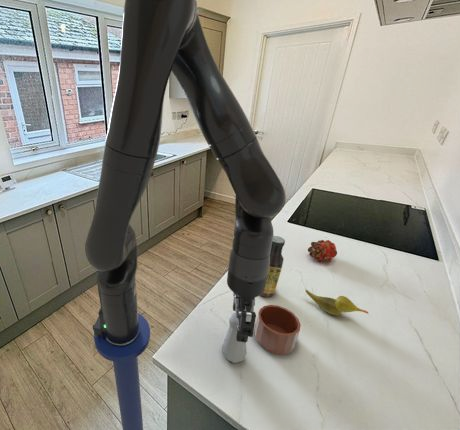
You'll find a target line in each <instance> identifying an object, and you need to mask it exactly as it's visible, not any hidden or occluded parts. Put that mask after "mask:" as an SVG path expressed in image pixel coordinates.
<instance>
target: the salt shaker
mask: <svg viewBox="0 0 460 430" xmlns="http://www.w3.org/2000/svg"><path fill="white" fill-rule="evenodd" d="M239 314H241V312H239ZM228 325H229V328H228V330H227V333H226V334H225V337H224V339H223V342H222V343H221V350H222V353H223V355H224V356H225V359H226V360H227V361H229V362H231V363H232V364H236V363H240V362H242V361H244V360H245V358H246V356H247V354H248V351H247V342H238V341H237V339H236V336H237V329H238V328H237V326H238V318H237V317H236V316H235V312H233V313H231V314H230V316H229V318H228Z"/></svg>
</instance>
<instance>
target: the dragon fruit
mask: <svg viewBox="0 0 460 430" xmlns="http://www.w3.org/2000/svg"><path fill="white" fill-rule="evenodd" d="M307 252H309V253H308V254H309V257H312V258H313V259H314V260H315V261H317V262H322V261H324V262H327V263H330V262H331V261H332V259H333V258H335V257H337V255H338V251H337V246H336V244H335V243H334V242H332V241H330V239H326V240H325V239H319V240H317V241H311V242H310V246H309V247H308V248H307Z"/></svg>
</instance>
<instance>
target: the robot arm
mask: <svg viewBox="0 0 460 430" xmlns="http://www.w3.org/2000/svg"><path fill="white" fill-rule="evenodd" d="M197 3H198V2H197V0H124V6H123V17H122V30H121V31H122V32H121V45H120V55H119V56H120V57H119V67H118V68H119V69H118V75H117V76H118V77H117V82H116V88H115V93H114V97H113V100H112V101H113V102H112V107H111V112H110V117H109V121H108V122H109V123H108V129H107V133H106V138H105V142H104V149H103V155H102V162H101V169H100V175H99V182H98V187H97V193H96V202H95V208H94V212H93V216H92V220H91V224H90V226H89V230H88V233H87V236H86V240H85V243H84V244H85V245H84V252H85V255H86V256H85V257H86V259H87V261H88V263H89V264H90V265H91V266H92V267H93V268H94V270H96V271H97V273H96V285H97V291H98V298H99V305H100V307H99V310H98V312H97V313H98V316H97V319H96V321H95V323H94V324H93V325H92V330H93V336H94V335H98V336H102V338H103V339H106V340H107V342H108V343H110V344H111V345H113V346H116V347H124V346H127V345H130V344H131V343H133V342H134V341H135V340H136V339H137V337H138V335H139V323H138V313H139V312H138V310H139V309H138V297H137V282H136V276H137V275H136V274H137V271H138V241H137V235H136V232H135V229H134V228H133V226H132V225H131V224H130V223H131V220H132V217H133V215H134V213H135V211H136V209H137V207H138V205H139V203H140V201H141V199H142V197H143V195H144V193H145V191H146V189H147V186H148V184H149V181H150V178H151V177H152V173H153V170H154V166H155V162H156V159H157V156H158V151H159V147H160V141H161V133H162V126H163V112H164V101H165V95H166V90H167V86H168V82H169V79H170V76H171V72H172V74H173V76H174V77H175V79H176V81H177V83H178V84H179V85H180V87H181V90H182V92H183V93H184V96H185V98H186V99H187V101H188V105H189V106H190V109H191V111H192V113H193V116H194V119H195V121H196V123H197V125H198V128H199V129H200V131H201V134H202V136H203V137H204V140H205V142H206V143H207V145H208V147H209V149H210V151H211V152H212V154H213V156H214V158H215V160H216V161H217V162H218V164H219V165H220V167H221V168H222V170H223V171H224V172H225V175H226V176H227V179H228V181H229V184H230V185H231V187H232V188H231V189H232V190H233V192H234V194H235V198H234V199H235V205H234V207H235V208H234V209H235V210H234V211H235V215H234V216H235V221H234V222H235V223H234V229H233V234H232V244H231V249H230V253H229V258H228V266H227V267H228V269H227V277H226V285H227V287H228V288H229V289H230V290H231V292H232V296H233V304H232V311H233V312H234V313H235V316H236V317H237V318H238V326H237V328H238V329H237V336H236V339H237V341H238V342H246V343H248V340H249V338H253V336H254V331H255V325H256V319H257V314H256V311H254V310H255V306H256V298H257V297H260V296H261V294H262V293H263V292H264V290H265V286H266V280H267V275H268V270H269V265H270V252H271V247H272V241H273V236H274V226H273V223H272V218H273V217H276V216H277V215H278V214H279V213H280V212H281V211H282V210H283V209H284V207H285V204H286V201H287V200H286V199H287V193H286V189H285V187H284V185H283V183H282V182H281V180H280V178H279V176H278V174H277V173H276V171H275V169H274V168H273V166H272V164H271V163H270V161H269V160H268V158H267V157H266V155H265V154H264V151H263V149H262V147H261V143H260V142H259V139H258V137H257V134H256V132H255V131H254V129H253V127H252V125H251V123H250V121H249V118H248V117H247V114H246V112H245V111H244V109H243V108H242V106H241V104H240V102H239V100H238V99H237V97H236V96H235V94H234V92H233V90H232V89H231V87H230V86H229V84H228V83H227V81H226V79H225V77H224V76H223V74H222V72H221V70H220V69H219V67H218V64H217V63H216V60H215V59H214V56H213V54H212V52H211V50H210V47H209V44H208V42H207V39H206V36H205V33H204V29H203V26H202V23H201V20H200V16H199V14H198V4H197ZM239 313H241V314H239Z"/></svg>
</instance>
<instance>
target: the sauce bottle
mask: <svg viewBox="0 0 460 430" xmlns="http://www.w3.org/2000/svg"><path fill="white" fill-rule="evenodd" d="M285 245H286V240H285V239H284V238H283V237H282V236H278V235H273V241H272V247H271V252H270V265H269V270H268V275H267V280H266V286H265V290H264V292H263V293H262V294H261V295H260V296H262V297H265V298H266V297H272V296H273V295H274V293H275V292H276V289H277V286H278V283H279V279H280V276H281V272H282V268H283V264H284V260H285V259H284V256H283V254H282V253H283V248H284V246H285Z"/></svg>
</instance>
